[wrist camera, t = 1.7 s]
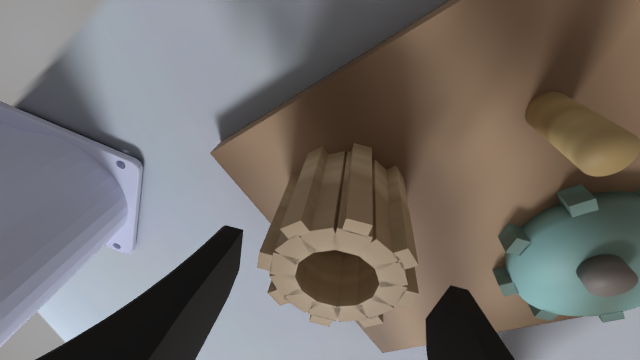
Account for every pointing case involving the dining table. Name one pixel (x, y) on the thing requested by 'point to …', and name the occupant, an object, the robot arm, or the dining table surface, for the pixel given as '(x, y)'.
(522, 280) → the gear board
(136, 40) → the dining table surface
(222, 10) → the dining table surface
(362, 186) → the wooden gear
